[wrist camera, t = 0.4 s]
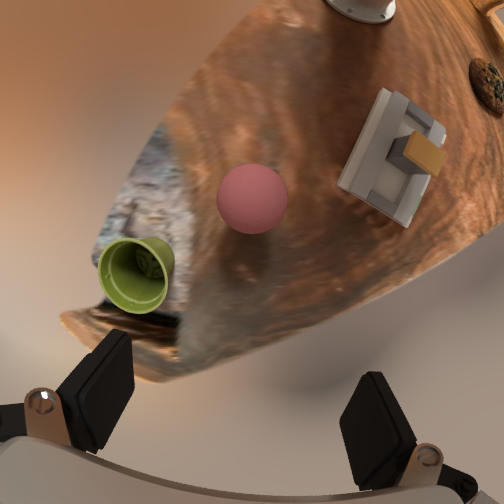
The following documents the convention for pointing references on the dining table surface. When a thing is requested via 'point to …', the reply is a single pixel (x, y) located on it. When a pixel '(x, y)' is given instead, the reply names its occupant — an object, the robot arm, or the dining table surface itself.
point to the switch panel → (387, 169)
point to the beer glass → (488, 6)
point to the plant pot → (136, 273)
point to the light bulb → (252, 198)
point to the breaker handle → (416, 155)
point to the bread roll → (487, 84)
